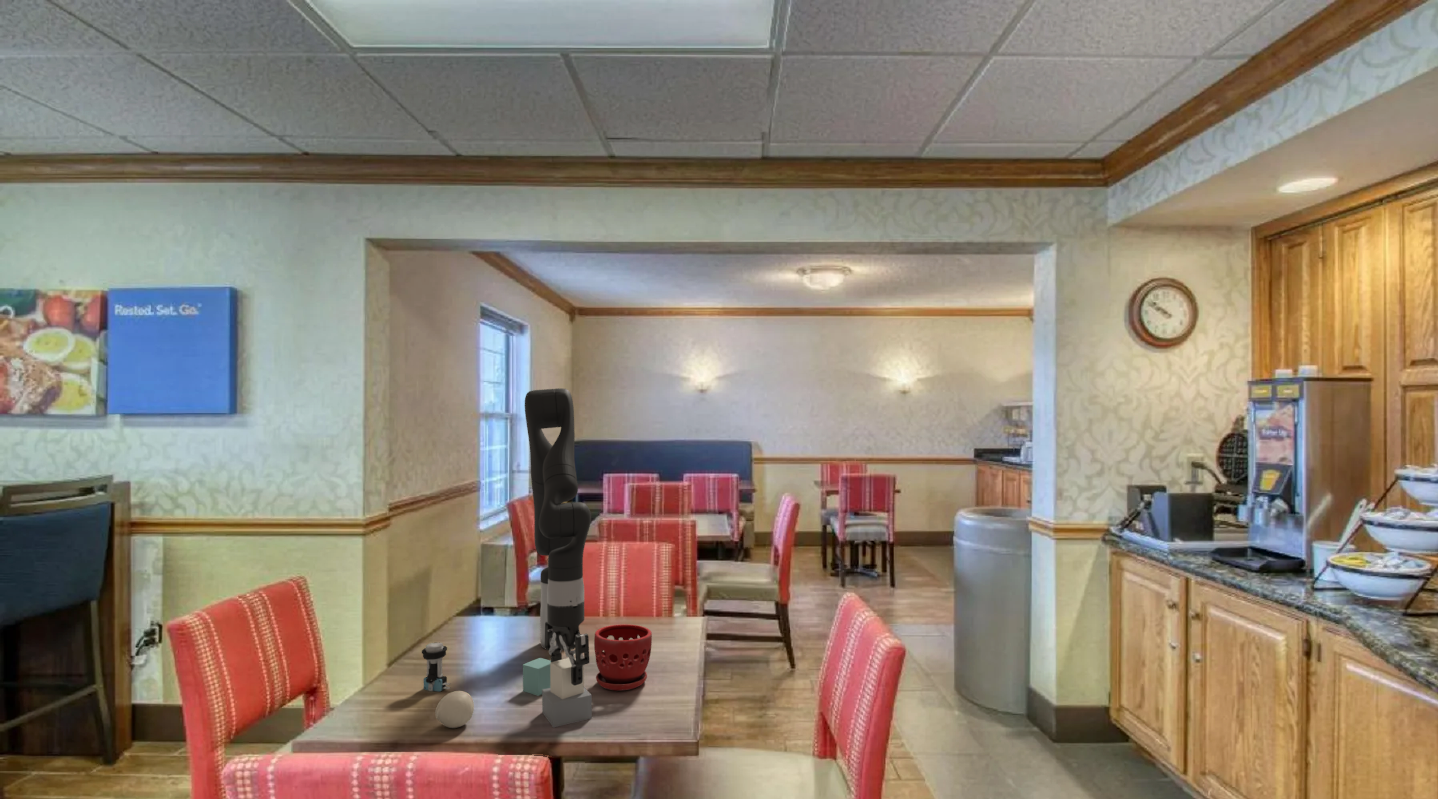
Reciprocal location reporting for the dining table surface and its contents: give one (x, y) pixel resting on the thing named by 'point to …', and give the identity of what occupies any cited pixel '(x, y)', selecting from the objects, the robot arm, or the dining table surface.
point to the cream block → (563, 679)
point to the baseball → (455, 709)
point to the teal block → (536, 676)
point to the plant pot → (622, 656)
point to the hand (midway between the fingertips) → (566, 678)
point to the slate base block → (566, 707)
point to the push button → (435, 667)
